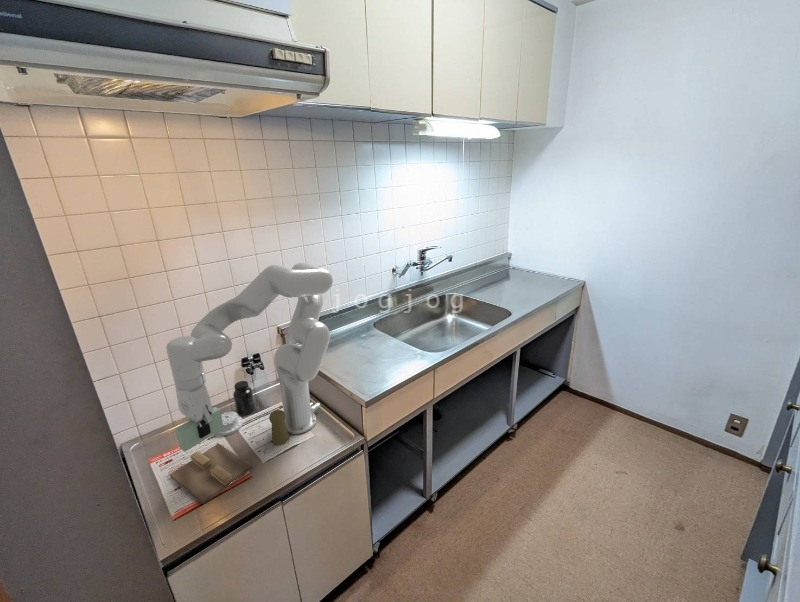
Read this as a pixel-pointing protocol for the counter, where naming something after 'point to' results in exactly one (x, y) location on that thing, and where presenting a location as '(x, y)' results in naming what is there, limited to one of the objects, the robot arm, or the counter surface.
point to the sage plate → (189, 430)
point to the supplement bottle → (243, 398)
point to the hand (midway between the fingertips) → (202, 433)
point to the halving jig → (210, 472)
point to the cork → (279, 427)
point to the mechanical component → (230, 423)
